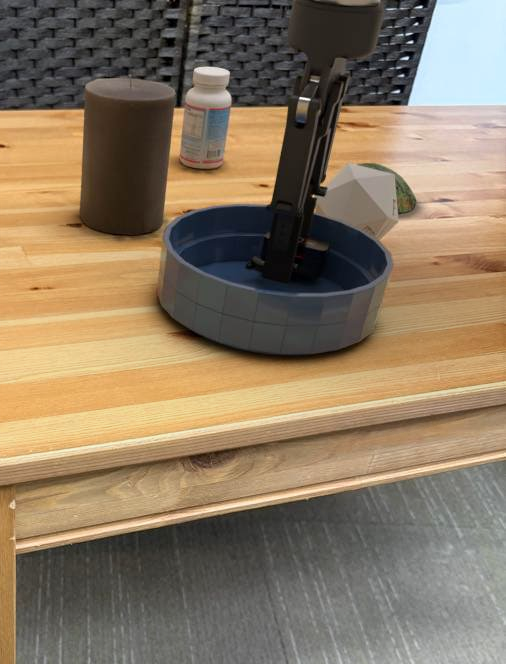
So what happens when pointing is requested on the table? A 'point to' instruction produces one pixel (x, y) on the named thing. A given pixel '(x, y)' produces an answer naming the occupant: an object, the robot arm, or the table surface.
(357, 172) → the die
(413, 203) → the seashell
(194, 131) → the pill bottle
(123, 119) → the pillar candle
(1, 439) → the table surface
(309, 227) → the robot arm
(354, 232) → the bowl
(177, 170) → the table surface
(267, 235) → the wireless earbuds
